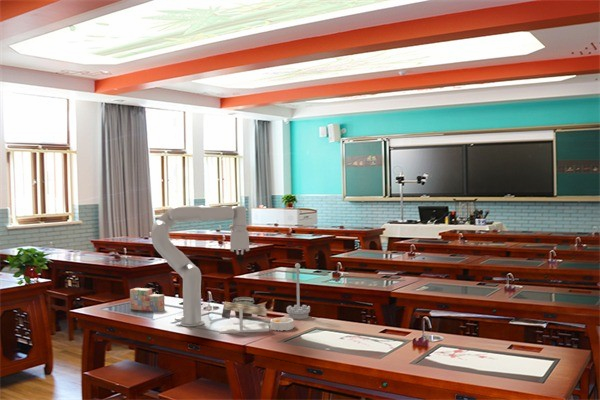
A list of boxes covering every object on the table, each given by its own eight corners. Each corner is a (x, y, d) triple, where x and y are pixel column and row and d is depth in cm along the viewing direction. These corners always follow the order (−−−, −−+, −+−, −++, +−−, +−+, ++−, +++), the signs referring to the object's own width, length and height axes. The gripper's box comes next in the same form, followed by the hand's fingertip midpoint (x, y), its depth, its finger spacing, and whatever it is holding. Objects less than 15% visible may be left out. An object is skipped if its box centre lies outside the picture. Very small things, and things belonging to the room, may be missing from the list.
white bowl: (271, 331, 297) (270, 323, 297) (269, 325, 309) (269, 317, 309) (294, 330, 298) (294, 322, 298) (292, 324, 310) (292, 317, 310)
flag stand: (307, 319, 321) (307, 265, 320) (284, 319, 323) (283, 264, 322) (312, 314, 333) (311, 261, 333) (289, 313, 336) (288, 261, 335)
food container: (256, 314, 336) (255, 297, 335) (254, 316, 330) (254, 299, 329) (235, 314, 337) (234, 296, 337) (232, 316, 331) (232, 299, 330)
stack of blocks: (165, 310, 352) (164, 289, 352) (158, 312, 346) (157, 291, 346) (137, 307, 361) (136, 287, 361) (130, 309, 356) (129, 289, 355)
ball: (272, 327, 301) (273, 319, 301) (272, 325, 305) (273, 317, 305) (280, 328, 301) (281, 320, 301) (280, 326, 305) (281, 318, 305)
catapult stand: (219, 333, 294) (218, 311, 294) (220, 327, 306) (219, 306, 306) (269, 331, 297) (268, 309, 296) (267, 325, 309) (267, 304, 308)
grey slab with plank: (221, 317, 297) (224, 304, 297) (222, 310, 314) (225, 297, 314) (264, 324, 299) (266, 311, 299) (263, 316, 317) (265, 304, 317)
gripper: (225, 229, 317) (226, 263, 318) (253, 228, 319) (253, 262, 319) (225, 228, 325) (226, 261, 325) (252, 227, 326) (253, 260, 327)
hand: (240, 261), depth 322 cm, fingers closed
